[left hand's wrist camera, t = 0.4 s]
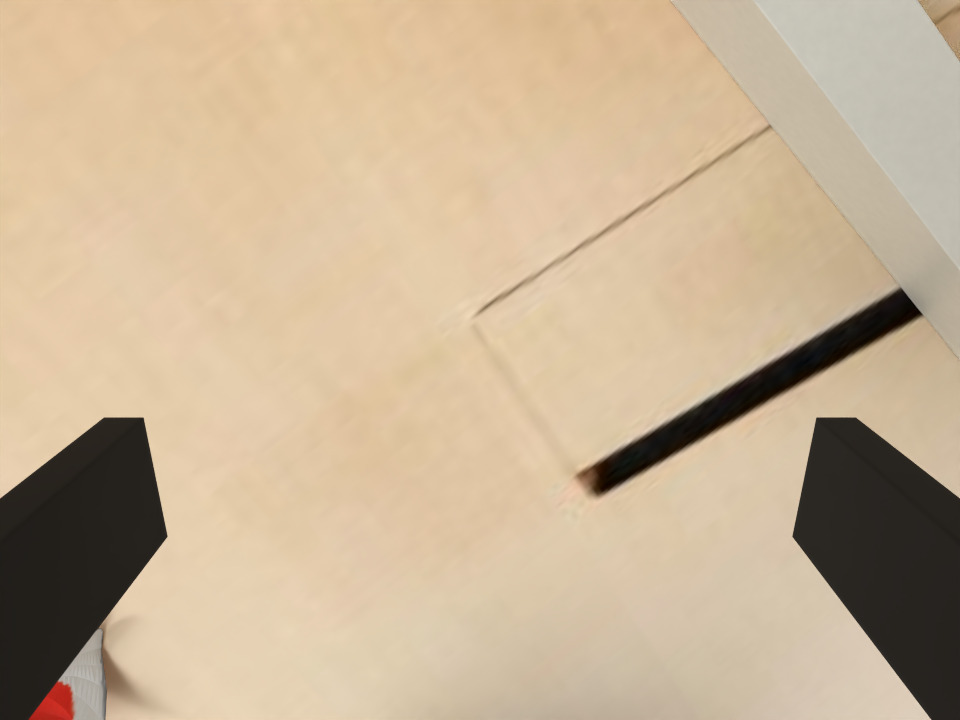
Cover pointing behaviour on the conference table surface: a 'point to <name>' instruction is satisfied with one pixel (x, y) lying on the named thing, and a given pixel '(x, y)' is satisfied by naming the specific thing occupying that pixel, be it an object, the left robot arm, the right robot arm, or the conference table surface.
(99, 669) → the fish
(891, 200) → the bar
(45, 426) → the conference table surface
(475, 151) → the conference table surface
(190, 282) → the conference table surface
